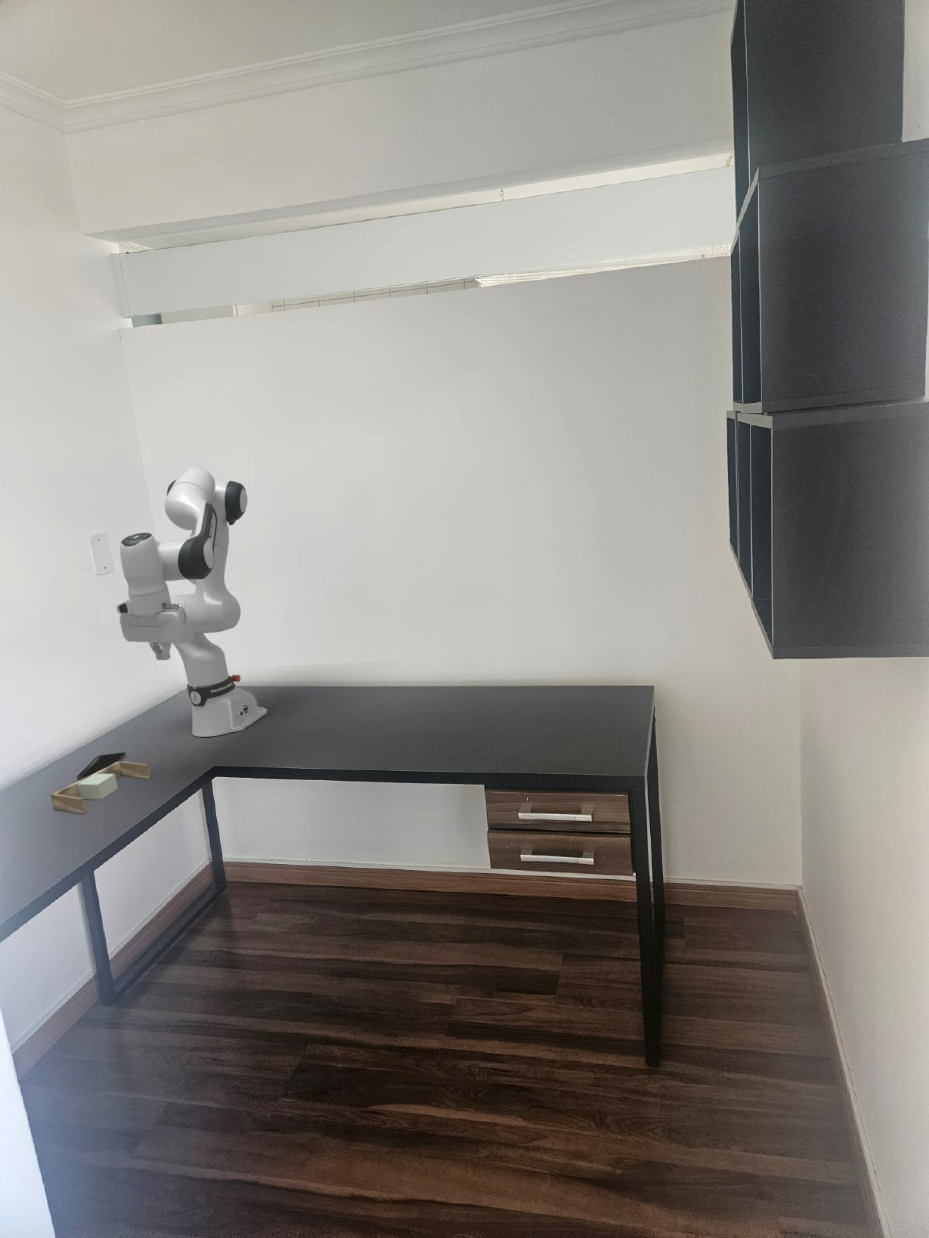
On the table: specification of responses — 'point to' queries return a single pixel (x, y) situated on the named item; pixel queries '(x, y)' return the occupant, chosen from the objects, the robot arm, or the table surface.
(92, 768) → the phone
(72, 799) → the wooden u-shaped bracket
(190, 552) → the robot arm
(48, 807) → the table surface
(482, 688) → the table surface
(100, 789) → the sage block
